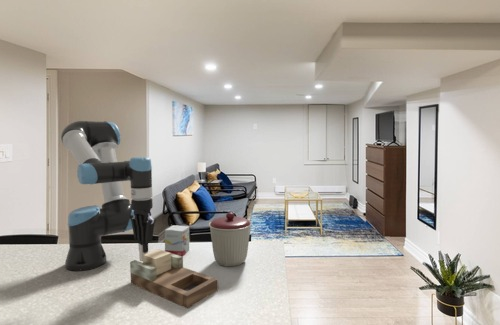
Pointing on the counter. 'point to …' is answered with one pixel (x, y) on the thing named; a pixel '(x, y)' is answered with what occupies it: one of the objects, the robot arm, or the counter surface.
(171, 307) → the counter surface
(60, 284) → the counter surface
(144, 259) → the birch block
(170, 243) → the ink box
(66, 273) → the counter surface
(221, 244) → the canister
